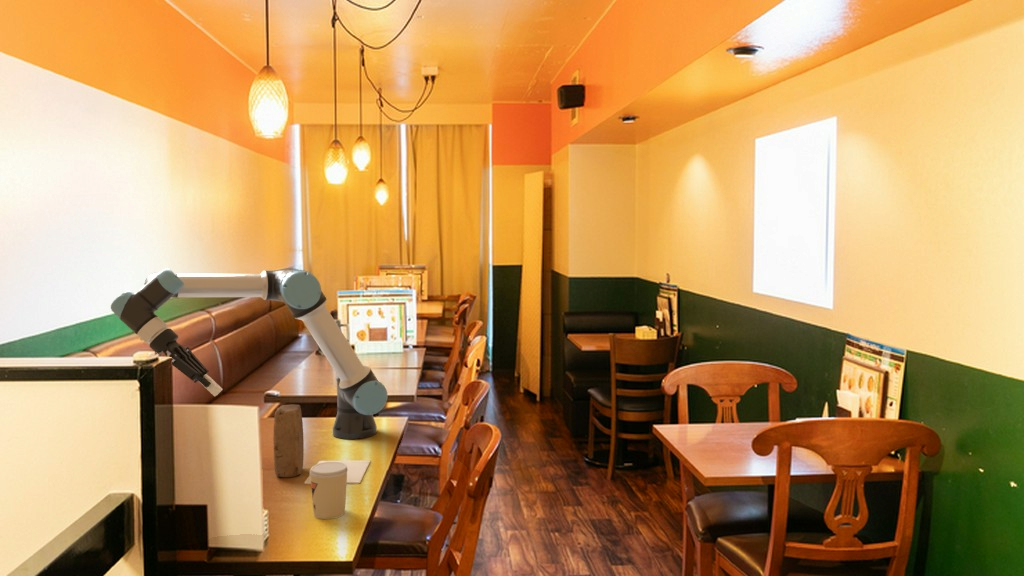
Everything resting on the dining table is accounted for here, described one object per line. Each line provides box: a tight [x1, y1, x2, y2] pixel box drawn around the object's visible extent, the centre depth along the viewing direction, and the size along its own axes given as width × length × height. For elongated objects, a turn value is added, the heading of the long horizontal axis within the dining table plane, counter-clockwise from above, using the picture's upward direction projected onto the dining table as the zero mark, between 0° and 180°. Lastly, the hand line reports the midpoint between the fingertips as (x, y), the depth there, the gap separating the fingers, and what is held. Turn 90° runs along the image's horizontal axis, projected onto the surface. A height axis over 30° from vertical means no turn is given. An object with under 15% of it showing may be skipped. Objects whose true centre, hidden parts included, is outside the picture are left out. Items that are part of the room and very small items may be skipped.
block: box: [273, 403, 305, 478], centre depth 224 cm, size 11×8×20 cm
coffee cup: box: [309, 462, 348, 520], centre depth 193 cm, size 9×9×12 cm
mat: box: [303, 459, 371, 485], centre depth 225 cm, size 20×16×1 cm
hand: (218, 392), depth 222 cm, fingers closed
